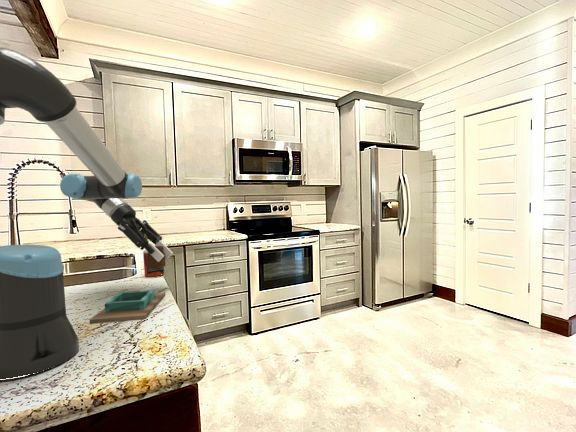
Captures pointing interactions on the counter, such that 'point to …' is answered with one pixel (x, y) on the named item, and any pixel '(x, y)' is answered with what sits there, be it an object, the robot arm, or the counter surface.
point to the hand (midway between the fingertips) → (165, 257)
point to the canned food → (149, 271)
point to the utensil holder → (151, 261)
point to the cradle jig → (129, 306)
